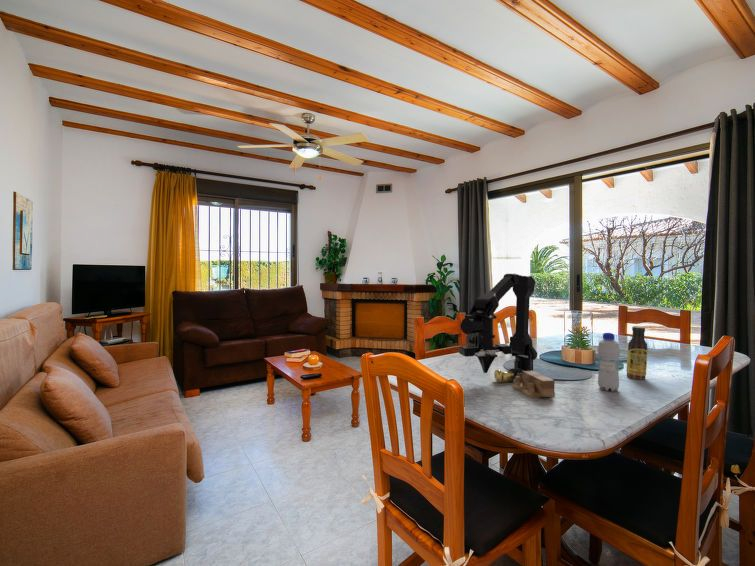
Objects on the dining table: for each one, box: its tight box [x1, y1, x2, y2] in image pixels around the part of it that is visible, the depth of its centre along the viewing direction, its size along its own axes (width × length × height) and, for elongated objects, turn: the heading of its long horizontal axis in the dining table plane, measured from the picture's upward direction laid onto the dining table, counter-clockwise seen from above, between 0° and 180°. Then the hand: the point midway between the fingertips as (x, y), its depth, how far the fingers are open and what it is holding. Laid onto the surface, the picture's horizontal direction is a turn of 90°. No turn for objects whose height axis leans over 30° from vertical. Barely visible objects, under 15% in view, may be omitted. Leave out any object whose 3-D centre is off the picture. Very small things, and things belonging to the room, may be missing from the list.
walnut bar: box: [522, 370, 555, 397], centre depth 125 cm, size 12×4×5 cm, turn 11°
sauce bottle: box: [626, 326, 648, 381], centre depth 141 cm, size 6×6×20 cm
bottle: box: [597, 332, 621, 392], centre depth 129 cm, size 7×7×20 cm
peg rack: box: [512, 376, 556, 399], centre depth 128 cm, size 12×8×4 cm, turn 11°
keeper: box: [507, 367, 525, 383], centre depth 140 cm, size 5×8×4 cm, turn 11°
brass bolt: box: [493, 369, 515, 383], centre depth 139 cm, size 6×5×5 cm
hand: (485, 372), depth 137 cm, fingers closed
